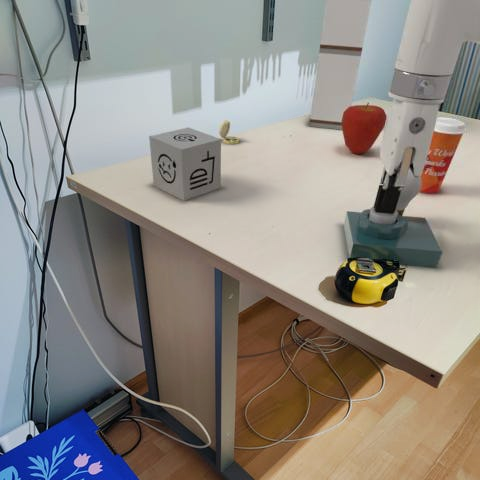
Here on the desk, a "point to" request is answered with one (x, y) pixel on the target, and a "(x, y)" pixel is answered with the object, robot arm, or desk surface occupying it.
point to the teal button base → (392, 239)
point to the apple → (362, 126)
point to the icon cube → (186, 162)
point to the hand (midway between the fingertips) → (383, 210)
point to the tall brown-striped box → (338, 60)
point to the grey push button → (382, 217)
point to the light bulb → (408, 192)
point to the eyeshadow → (224, 131)
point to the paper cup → (441, 153)
